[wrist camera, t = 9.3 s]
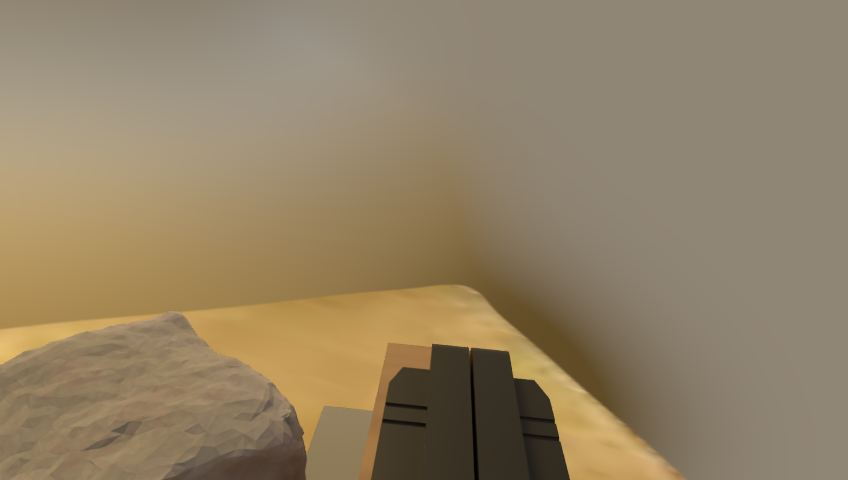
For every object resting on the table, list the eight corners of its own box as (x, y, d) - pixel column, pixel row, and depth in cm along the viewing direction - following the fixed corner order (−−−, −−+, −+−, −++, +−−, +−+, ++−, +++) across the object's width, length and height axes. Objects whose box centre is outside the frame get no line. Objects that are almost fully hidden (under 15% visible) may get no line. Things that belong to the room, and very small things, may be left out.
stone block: (39, 764, 13) (338, 482, 20) (-65, 673, 11) (312, 386, 17) (-56, 502, 21) (184, 357, 27) (-132, 414, 18) (151, 277, 25)
